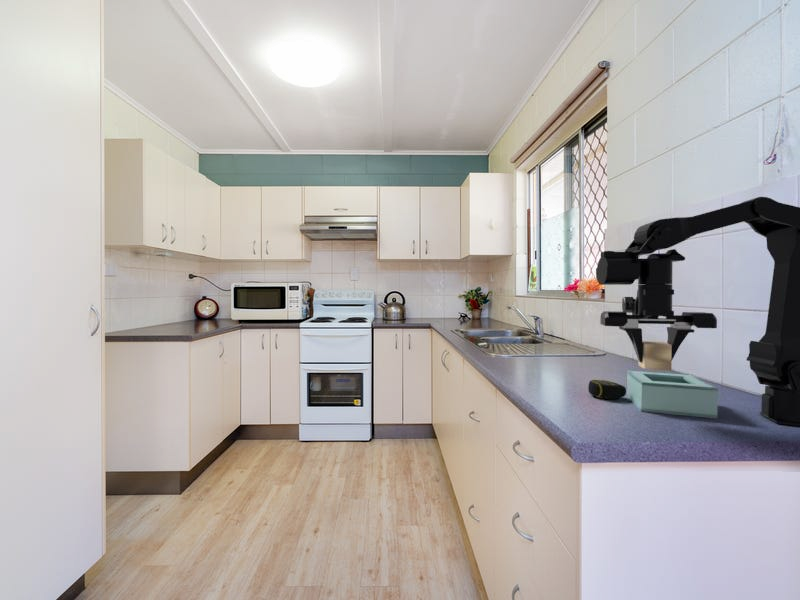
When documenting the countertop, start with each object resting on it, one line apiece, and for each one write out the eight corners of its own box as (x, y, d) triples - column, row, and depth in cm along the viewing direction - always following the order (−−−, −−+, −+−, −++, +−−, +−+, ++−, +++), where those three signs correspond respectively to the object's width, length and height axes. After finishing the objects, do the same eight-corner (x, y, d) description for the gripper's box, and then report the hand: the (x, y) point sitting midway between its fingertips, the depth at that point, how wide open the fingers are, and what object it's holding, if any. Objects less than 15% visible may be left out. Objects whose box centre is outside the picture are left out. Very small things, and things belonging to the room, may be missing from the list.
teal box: (691, 401, 88) (692, 375, 88) (717, 418, 76) (718, 388, 76) (627, 395, 92) (627, 370, 92) (641, 411, 80) (641, 382, 80)
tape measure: (627, 400, 89) (628, 384, 89) (604, 402, 87) (604, 386, 87) (603, 393, 95) (604, 378, 95) (581, 394, 93) (581, 379, 93)
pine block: (663, 366, 79) (663, 341, 79) (671, 370, 74) (671, 344, 74) (638, 365, 80) (638, 341, 80) (644, 369, 76) (644, 343, 76)
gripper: (693, 284, 82) (693, 358, 82) (596, 285, 88) (595, 354, 88) (718, 283, 71) (717, 368, 71) (605, 284, 77) (605, 362, 77)
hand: (654, 362), depth 77 cm, fingers closed on pine block, 4 cm apart
